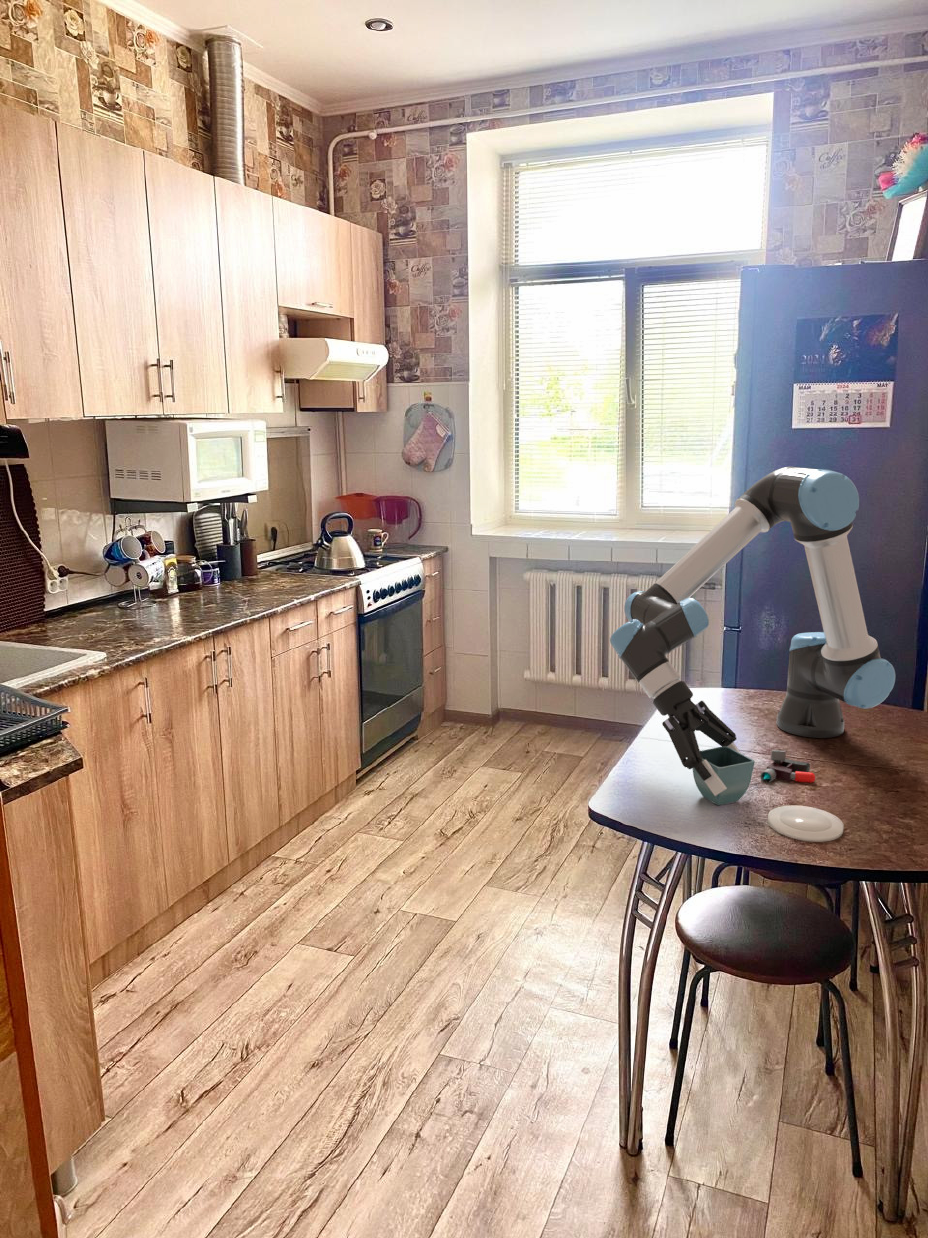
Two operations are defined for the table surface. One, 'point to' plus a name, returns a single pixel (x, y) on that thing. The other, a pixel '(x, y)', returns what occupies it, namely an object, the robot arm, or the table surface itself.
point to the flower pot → (726, 774)
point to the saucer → (805, 823)
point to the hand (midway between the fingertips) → (734, 782)
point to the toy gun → (787, 769)
